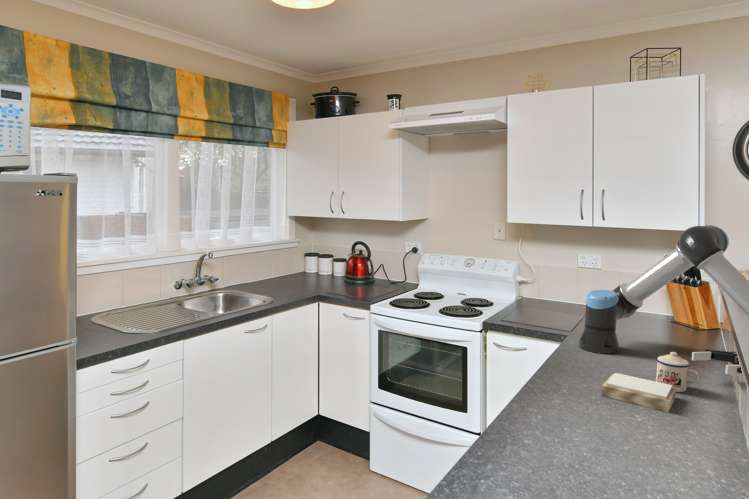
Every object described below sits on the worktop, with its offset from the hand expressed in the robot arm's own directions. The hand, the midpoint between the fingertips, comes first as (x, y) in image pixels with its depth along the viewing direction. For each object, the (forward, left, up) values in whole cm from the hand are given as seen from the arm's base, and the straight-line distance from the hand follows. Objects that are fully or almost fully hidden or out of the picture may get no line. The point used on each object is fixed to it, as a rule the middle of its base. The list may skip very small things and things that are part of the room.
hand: (708, 362), depth 160 cm
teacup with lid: (-8, -8, -9) cm, 14 cm away
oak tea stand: (-16, -24, -8) cm, 30 cm away
